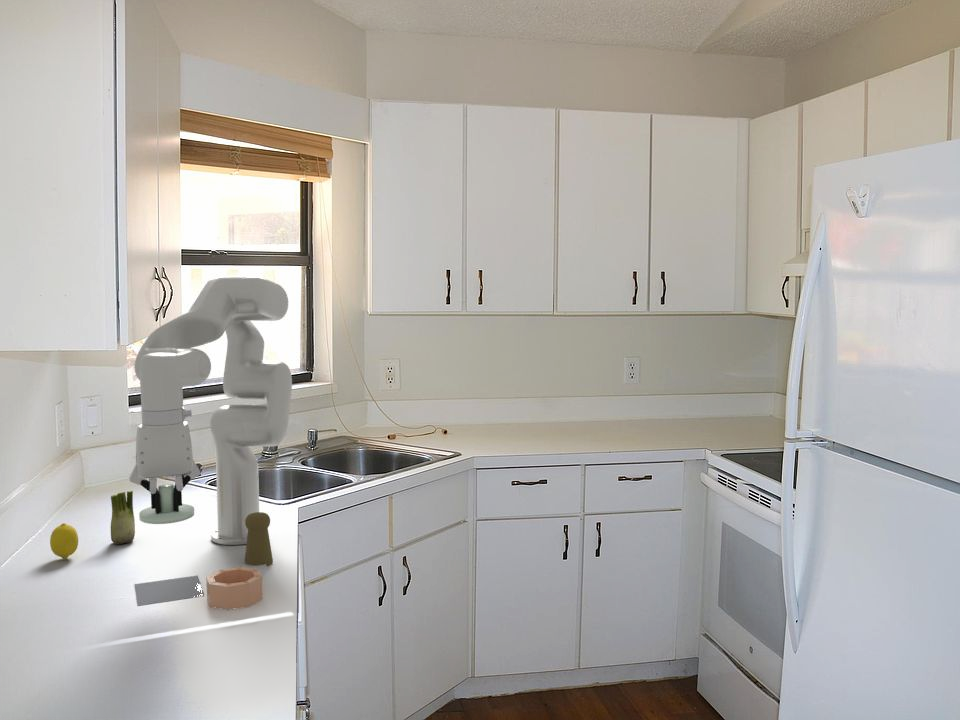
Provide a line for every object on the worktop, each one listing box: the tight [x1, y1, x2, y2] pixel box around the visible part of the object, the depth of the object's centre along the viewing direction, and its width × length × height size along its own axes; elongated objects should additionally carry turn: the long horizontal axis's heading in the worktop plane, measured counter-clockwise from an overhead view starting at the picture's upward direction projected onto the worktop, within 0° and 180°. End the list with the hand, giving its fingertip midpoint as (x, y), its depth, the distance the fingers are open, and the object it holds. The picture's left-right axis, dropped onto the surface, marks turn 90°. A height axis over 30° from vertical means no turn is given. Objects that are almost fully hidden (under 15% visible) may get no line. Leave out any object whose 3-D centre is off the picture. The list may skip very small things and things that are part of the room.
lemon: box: [49, 522, 79, 560], centre depth 184 cm, size 6×6×8 cm
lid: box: [138, 483, 195, 525], centre depth 163 cm, size 10×10×6 cm
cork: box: [244, 511, 274, 567], centre depth 181 cm, size 6×6×11 cm
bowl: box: [206, 566, 263, 610], centre depth 160 cm, size 10×10×5 cm
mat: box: [134, 575, 205, 607], centre depth 165 cm, size 12×12×1 cm
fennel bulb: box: [110, 490, 136, 545], centre depth 195 cm, size 6×5×12 cm
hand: (166, 509), depth 164 cm, fingers closed on lid, 2 cm apart
